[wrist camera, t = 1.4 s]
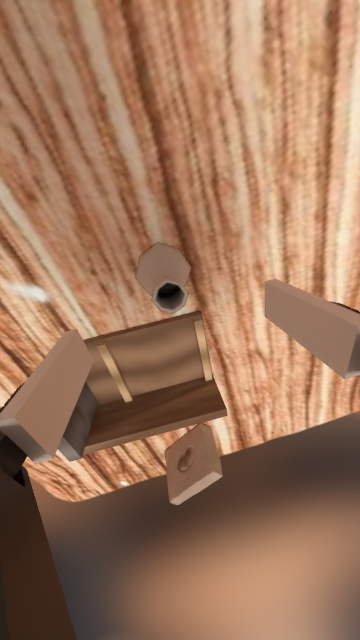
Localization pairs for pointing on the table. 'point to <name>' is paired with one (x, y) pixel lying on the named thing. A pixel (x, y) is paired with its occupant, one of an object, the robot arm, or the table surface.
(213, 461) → the fossil
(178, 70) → the table surface
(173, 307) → the flask
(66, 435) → the brown open box
